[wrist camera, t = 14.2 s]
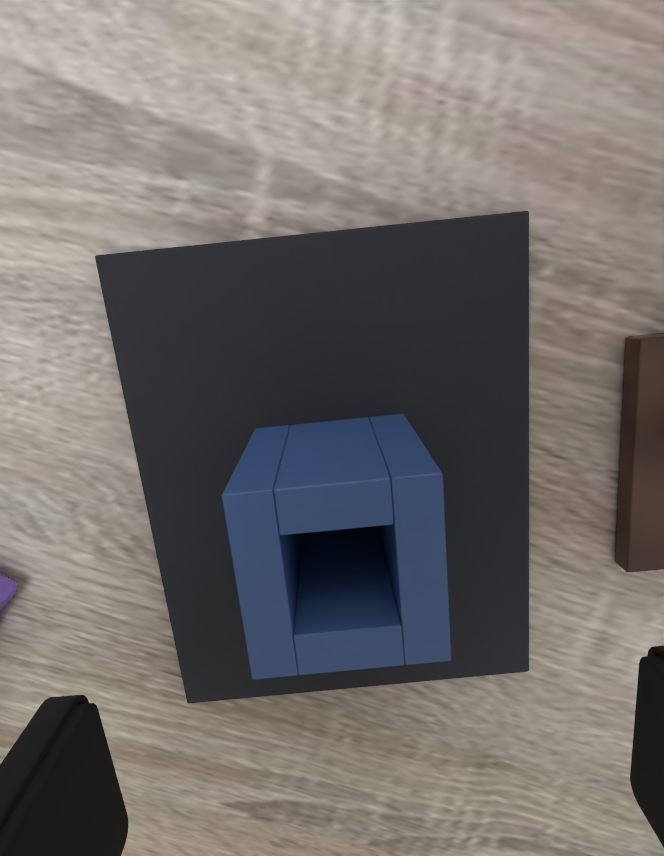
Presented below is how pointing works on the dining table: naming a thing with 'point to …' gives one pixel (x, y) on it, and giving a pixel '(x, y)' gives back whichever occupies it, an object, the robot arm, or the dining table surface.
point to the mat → (332, 412)
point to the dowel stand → (642, 457)
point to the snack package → (6, 589)
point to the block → (339, 547)
